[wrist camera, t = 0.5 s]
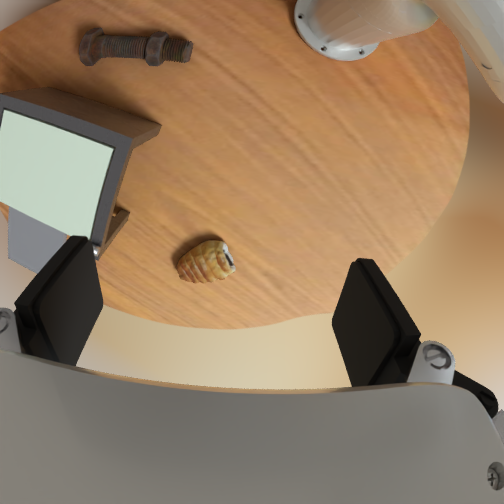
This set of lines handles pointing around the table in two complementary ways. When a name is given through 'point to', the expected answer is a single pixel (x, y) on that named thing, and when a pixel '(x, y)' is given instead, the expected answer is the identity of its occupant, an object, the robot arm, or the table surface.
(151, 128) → the frame
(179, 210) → the table surface
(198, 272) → the pastry
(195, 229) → the table surface
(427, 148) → the table surface
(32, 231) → the trapdoor
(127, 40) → the bolt
